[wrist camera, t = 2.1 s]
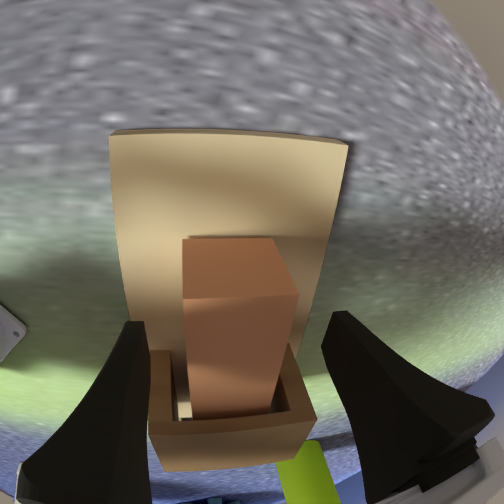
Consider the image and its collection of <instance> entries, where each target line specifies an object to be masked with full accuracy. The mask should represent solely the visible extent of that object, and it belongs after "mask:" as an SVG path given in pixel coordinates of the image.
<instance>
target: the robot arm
mask: <svg viewBox="0 0 504 504" xmlns="http://www.w3.org/2000/svg"><path fill="white" fill-rule="evenodd" d="M26 331H27V328H26V326H25V325H24V324H23V323H22V322H20V321H19V320H18V319H17V318H15V317H14V316H13V315H12V314H11V313H9V312H8V311H7V310H6V309H5V308H4V307H2V306H1V305H0V363H1V362H2V360H3V359H4V358H5V357H6V356H7V355H8V354H9V352H10V351H11V350H12V349H13V348H14V347H15V346H16V344H17V343H18V342H19V341H20V340H21V339H22V338H23V337H24V336H25V334H26ZM321 349H322V352H323V356H324V360H325V363H326V366H327V369H328V372H329V374H330V376H331V378H332V381H333V383H334V385H335V388H336V390H337V392H338V394H339V397H340V399H341V401H342V403H343V406H344V408H345V410H346V413H347V415H348V418H349V421H350V424H351V428H352V431H353V435H354V438H355V442H356V446H357V450H358V454H359V459H360V464H361V469H362V475H363V482H364V489H365V498H366V502H367V504H486V503H487V502H488V501H489V500H490V499H491V498H493V496H495V495H496V494H497V493H498V492H499V491H500V490H501V489H502V488H503V487H504V450H503V448H502V446H501V444H500V442H499V441H498V439H497V437H494V438H492V439H491V440H489V441H488V442H486V443H485V444H483V445H482V446H481V447H479V448H478V449H476V450H475V448H474V445H475V444H476V442H477V441H476V440H475V438H474V437H475V436H476V435H477V434H478V433H479V432H480V431H481V430H482V429H483V428H485V427H486V426H487V425H488V424H489V423H490V422H491V420H492V419H493V418H494V416H495V414H494V412H493V410H492V409H491V407H490V405H489V404H488V403H487V401H486V400H485V399H482V398H479V397H476V396H473V395H470V394H467V393H464V392H462V391H460V390H457V389H455V388H452V387H450V386H448V385H446V384H444V383H442V382H440V381H438V380H437V379H435V378H433V377H431V376H429V375H428V374H426V373H424V372H423V371H421V370H420V369H418V368H417V367H415V366H414V365H412V364H411V363H409V362H408V361H406V360H405V359H404V358H402V357H401V356H400V355H398V354H397V353H396V352H395V351H393V350H392V349H391V348H390V347H388V346H387V345H386V344H385V343H384V342H382V341H381V340H380V339H379V338H378V337H377V336H375V335H374V334H373V333H372V332H371V331H370V330H369V329H367V328H366V327H365V326H364V325H363V324H362V323H361V322H360V321H358V320H357V319H356V318H355V317H354V316H353V315H351V314H350V313H349V312H348V311H336V312H333V314H332V316H331V319H330V322H329V325H328V328H327V331H326V334H325V336H324V339H323V342H322V345H321ZM150 386H151V356H150V352H149V347H148V341H147V336H146V331H145V325H144V321H127V322H126V323H125V325H124V327H123V329H122V331H121V334H120V336H119V338H118V340H117V342H116V344H115V346H114V348H113V350H112V352H111V353H110V355H109V357H108V359H107V361H106V363H105V364H104V366H103V368H102V370H101V371H100V373H99V374H98V376H97V378H96V379H95V381H94V383H93V384H92V386H91V387H90V389H89V390H88V392H87V393H86V395H85V396H84V398H83V399H82V400H81V402H80V403H79V404H78V406H77V407H76V408H75V410H74V411H73V412H72V413H71V415H70V416H69V417H68V418H67V420H66V421H65V422H64V423H63V424H62V426H61V427H60V428H59V429H58V430H57V431H56V432H55V433H54V434H53V435H52V436H51V437H50V438H49V439H48V440H47V441H46V442H45V443H44V444H43V445H42V446H41V447H40V448H39V449H38V450H37V451H36V452H35V453H34V454H32V455H31V456H30V457H29V458H28V459H27V460H26V461H24V462H23V463H22V464H21V468H20V471H19V475H18V482H17V492H16V499H17V501H18V502H19V503H21V504H152V497H151V490H150V481H149V470H148V458H147V421H148V408H149V397H150Z"/></svg>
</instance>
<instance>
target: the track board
mask: <svg viewBox="0 0 504 504" xmlns="http://www.w3.org/2000/svg"><path fill="white" fill-rule="evenodd" d="M348 146H349V145H347V144H345V143H343V142H341V141H339V140H337V139H329V138H322V137H313V136H305V135H295V134H285V133H274V132H260V131H245V130H224V129H139V130H118V131H115V132H113V133H112V134H111V135H109V152H110V172H111V187H112V200H113V211H114V220H115V229H116V238H117V245H118V253H119V260H120V266H121V273H122V279H123V285H124V291H125V296H126V302H127V307H128V312H129V317H130V321H144V325H145V331H146V336H147V341H148V347H149V352H150V350H170V353H171V361H172V368H173V375H174V381H175V388H176V394H177V400H178V413H179V421H193V418H192V410H191V400H190V390H189V380H188V369H187V357H186V343H185V329H184V312H183V282H182V239H222V238H272V239H273V241H274V243H275V245H276V247H277V249H278V251H279V253H280V255H281V257H282V259H283V261H284V263H285V265H286V267H287V269H288V271H289V273H290V275H291V277H292V279H293V281H294V284H295V286H296V288H297V290H298V292H299V294H300V295H299V299H298V303H297V307H296V311H295V315H294V319H293V323H292V327H291V331H290V335H289V339H288V343H289V344H290V346H291V349H292V352H293V355H294V357H295V360H296V357H297V354H298V351H299V347H300V344H301V341H302V337H303V334H304V331H305V327H306V324H307V320H308V317H309V313H310V310H311V306H312V303H313V299H314V295H315V292H316V288H317V284H318V280H319V276H320V273H321V269H322V265H323V261H324V257H325V253H326V249H327V245H328V241H329V236H330V232H331V228H332V223H333V219H334V215H335V210H336V206H337V201H338V196H339V192H340V187H341V182H342V177H343V172H344V167H345V162H346V157H347V152H348Z"/></svg>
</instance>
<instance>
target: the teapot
mask: <svg viewBox="0 0 504 504" xmlns="http://www.w3.org/2000/svg"><path fill="white" fill-rule="evenodd" d="M207 501H208V504H222V498H209V499H207ZM180 504H192V503H180ZM227 504H240V501H234V502H229V503H227Z"/></svg>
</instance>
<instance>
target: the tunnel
mask: <svg viewBox="0 0 504 504" xmlns="http://www.w3.org/2000/svg"><path fill="white" fill-rule="evenodd" d="M150 356H151V386H150V397H149V408H148V435H149V438H150V440H151V442H152V445H153V447H154V449H155V452H156V454H157V456H158V458H159V460H160V463H161V465H162V467H163V469H164V471H165V472H179V471H204V470H218V469H229V468H239V467H247V466H255V465H262V464H268V463H275V462H281V461H286V460H291V459H294V458H295V456H296V455H297V453H298V451H299V450H300V448H301V447H302V445H303V443H304V442H305V440H306V438H307V436H308V435H309V433H310V431H311V430H312V428H313V426H314V424H315V423H316V421H317V417H316V414H315V411H314V409H313V406H312V403H311V400H310V398H309V395H308V392H307V390H306V387H305V384H304V382H303V379H302V376H301V373H300V371H299V368H298V365H297V363H296V360H295V357H294V355H293V352H292V349H291V346H290V344H289V343H287V347H286V351H285V354H284V358H283V362H282V366H281V369H280V373H279V376H278V380H277V384H276V387H275V391H274V394H273V398H272V401H271V405H270V408H269V412H268V414H265V415H256V416H248V417H238V418H227V419H213V420H196V421H179V413H178V400H177V394H176V388H175V381H174V375H173V368H172V361H171V353H170V350H150Z"/></svg>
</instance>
